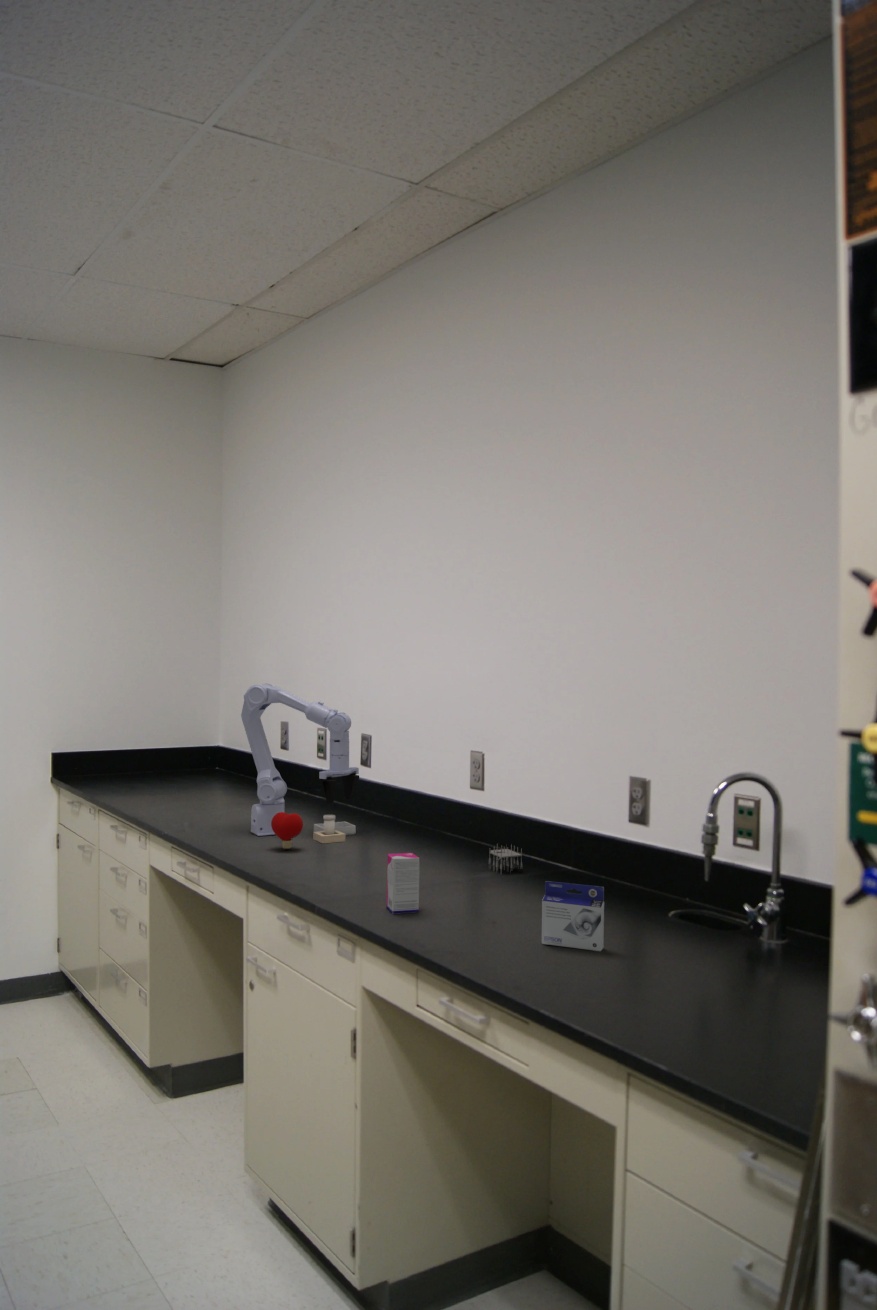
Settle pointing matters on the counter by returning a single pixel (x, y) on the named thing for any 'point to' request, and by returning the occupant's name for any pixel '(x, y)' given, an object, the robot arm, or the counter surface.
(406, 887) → the supplement box
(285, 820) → the red heart figure
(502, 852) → the building frame
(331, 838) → the socket block
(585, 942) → the ink box
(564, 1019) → the counter surface
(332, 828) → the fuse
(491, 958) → the counter surface
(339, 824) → the tray
